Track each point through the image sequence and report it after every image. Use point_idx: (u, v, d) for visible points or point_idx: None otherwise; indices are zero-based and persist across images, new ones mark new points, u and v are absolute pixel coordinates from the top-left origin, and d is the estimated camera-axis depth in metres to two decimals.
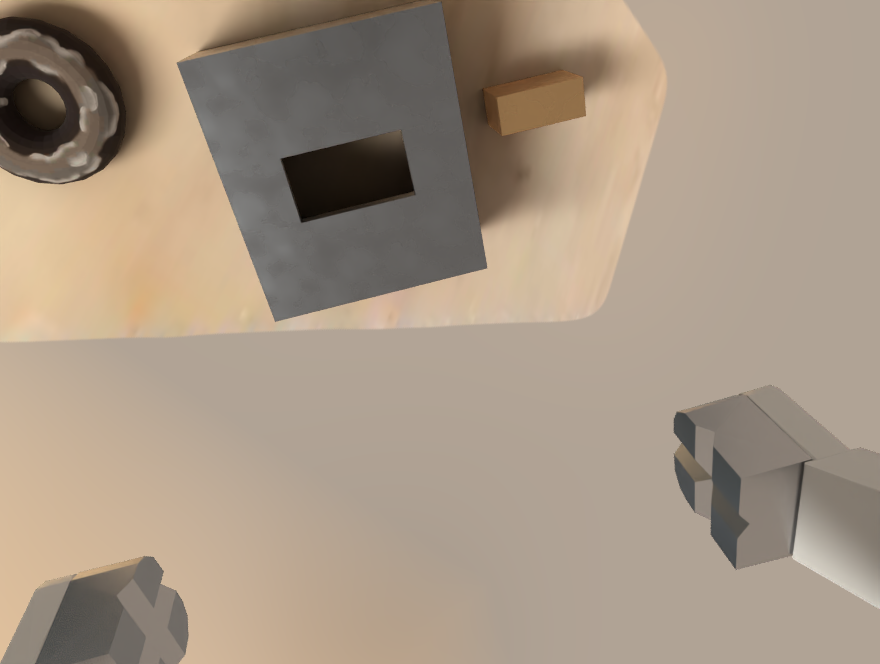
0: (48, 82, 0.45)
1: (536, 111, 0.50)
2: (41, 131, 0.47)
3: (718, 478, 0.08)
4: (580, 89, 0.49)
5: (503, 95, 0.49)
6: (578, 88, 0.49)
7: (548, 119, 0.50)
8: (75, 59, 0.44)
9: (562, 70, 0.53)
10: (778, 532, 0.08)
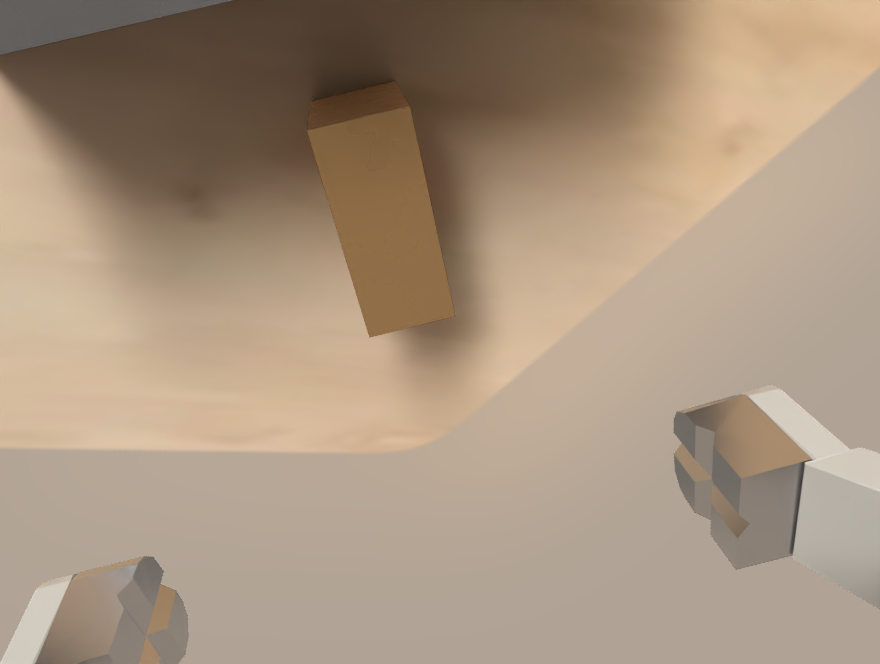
0: None
1: (376, 219, 0.19)
2: None
3: (718, 478, 0.08)
4: (428, 315, 0.21)
5: None
6: (430, 310, 0.21)
7: (358, 251, 0.20)
8: None
9: None
10: (778, 532, 0.08)
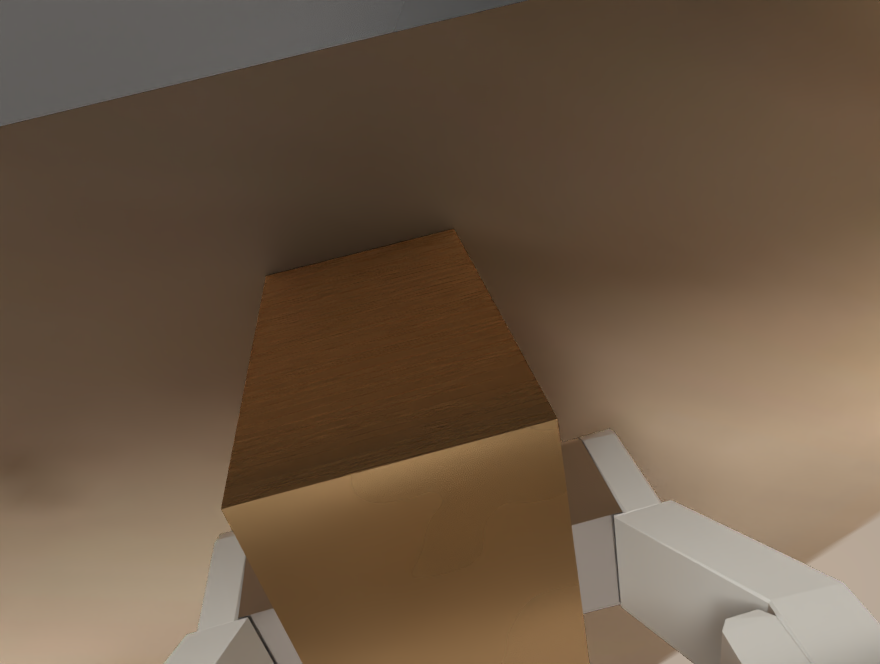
0: None
1: None
2: None
3: None
4: None
5: None
6: None
7: None
8: None
9: None
10: (601, 582, 0.08)
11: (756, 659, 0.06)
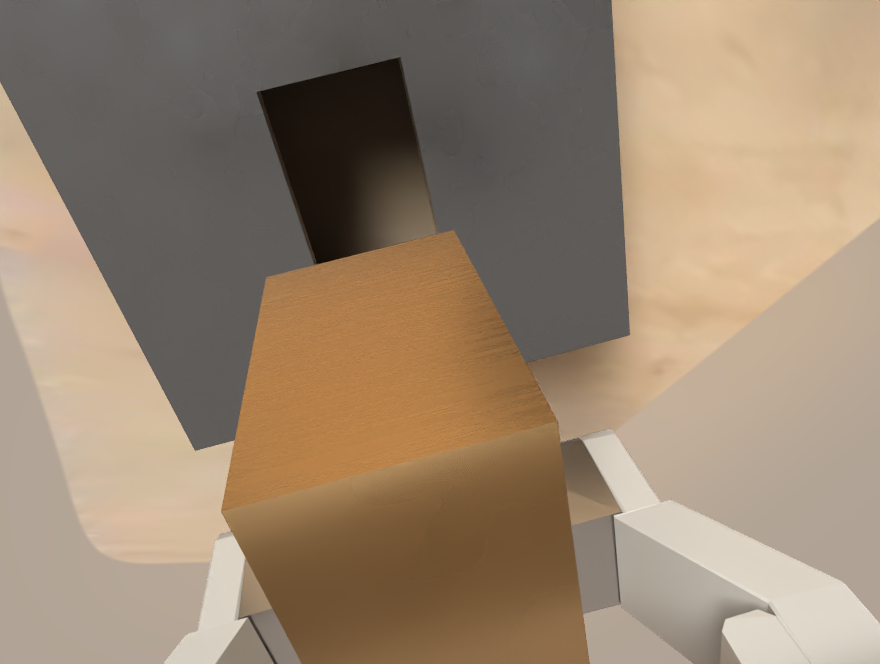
0: None
1: None
2: None
3: None
4: None
5: None
6: None
7: None
8: None
9: None
10: (601, 582, 0.08)
11: (755, 659, 0.06)
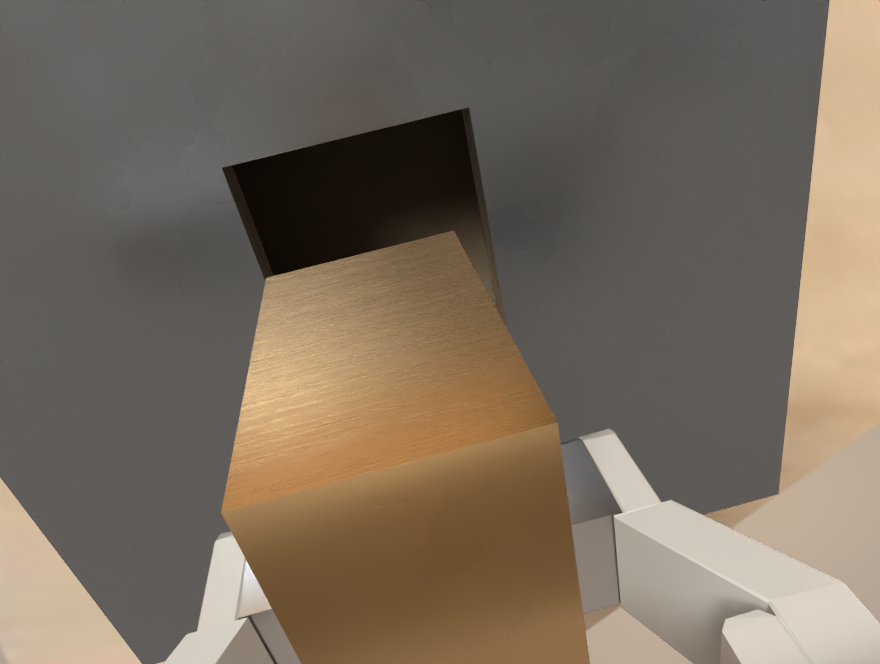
0: None
1: None
2: None
3: None
4: None
5: None
6: None
7: None
8: None
9: None
10: (601, 582, 0.08)
11: (756, 659, 0.06)
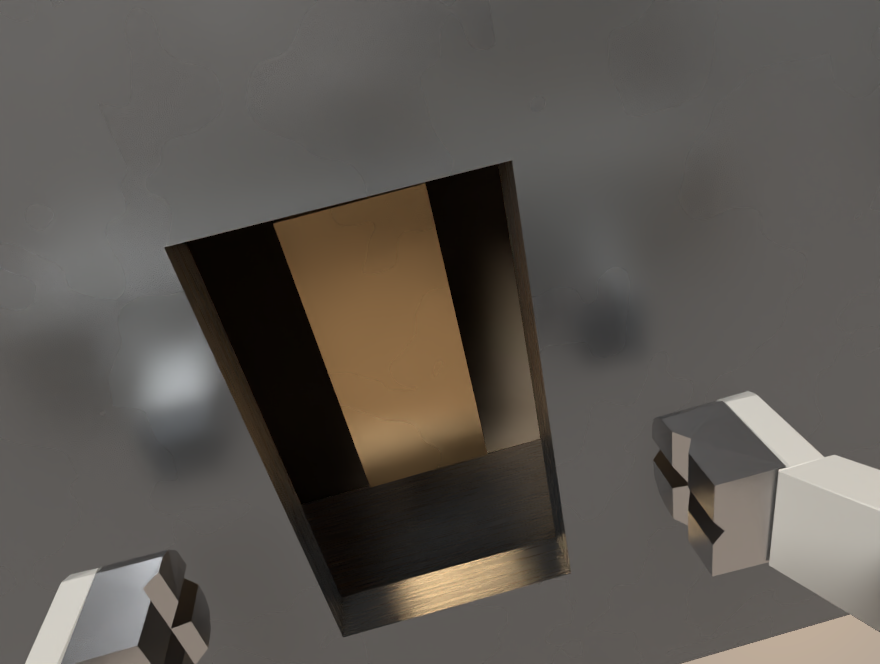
0: None
1: (377, 339, 0.13)
2: None
3: (694, 484, 0.08)
4: (450, 455, 0.15)
5: None
6: (453, 449, 0.15)
7: (353, 381, 0.14)
8: None
9: None
10: (753, 539, 0.08)
11: None
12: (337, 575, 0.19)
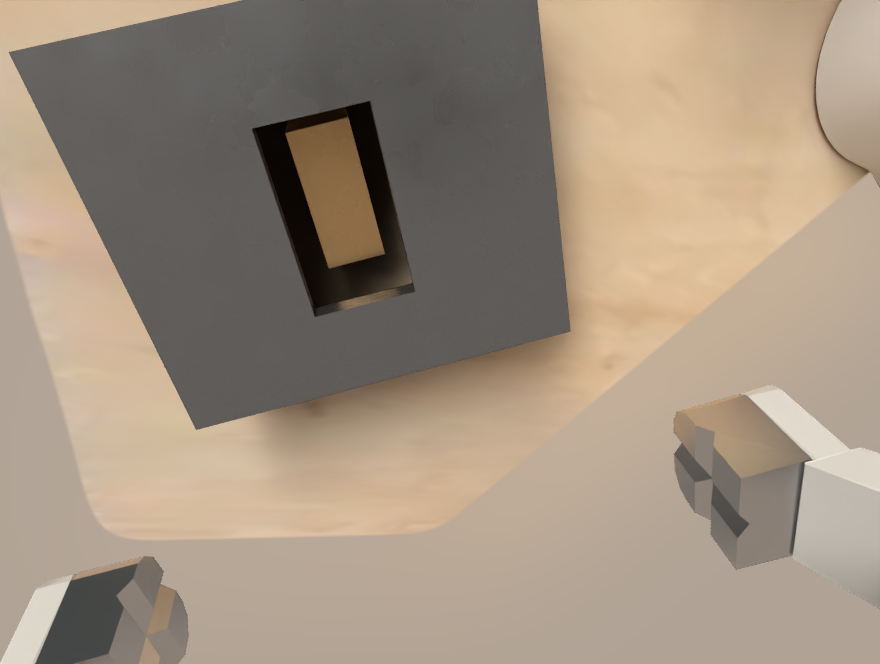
0: None
1: (330, 189, 0.31)
2: None
3: (719, 478, 0.08)
4: (367, 253, 0.32)
5: None
6: (368, 250, 0.32)
7: (319, 210, 0.31)
8: None
9: None
10: (778, 532, 0.08)
11: None
12: None
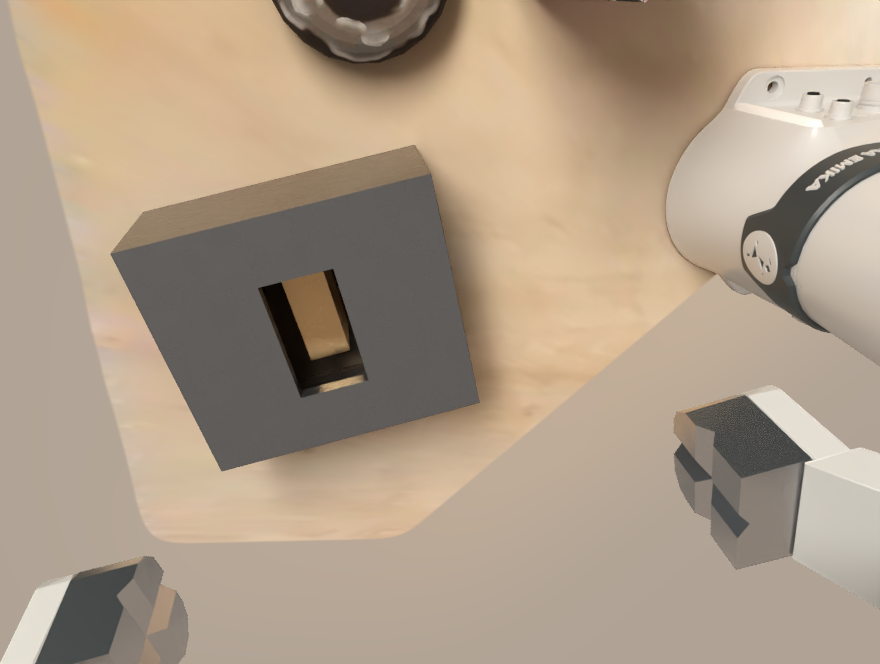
0: None
1: (310, 311, 0.45)
2: None
3: (718, 477, 0.08)
4: (337, 350, 0.47)
5: (324, 273, 0.44)
6: (338, 348, 0.47)
7: (304, 324, 0.46)
8: (416, 30, 0.39)
9: (347, 321, 0.51)
10: (778, 532, 0.08)
11: None
12: None
